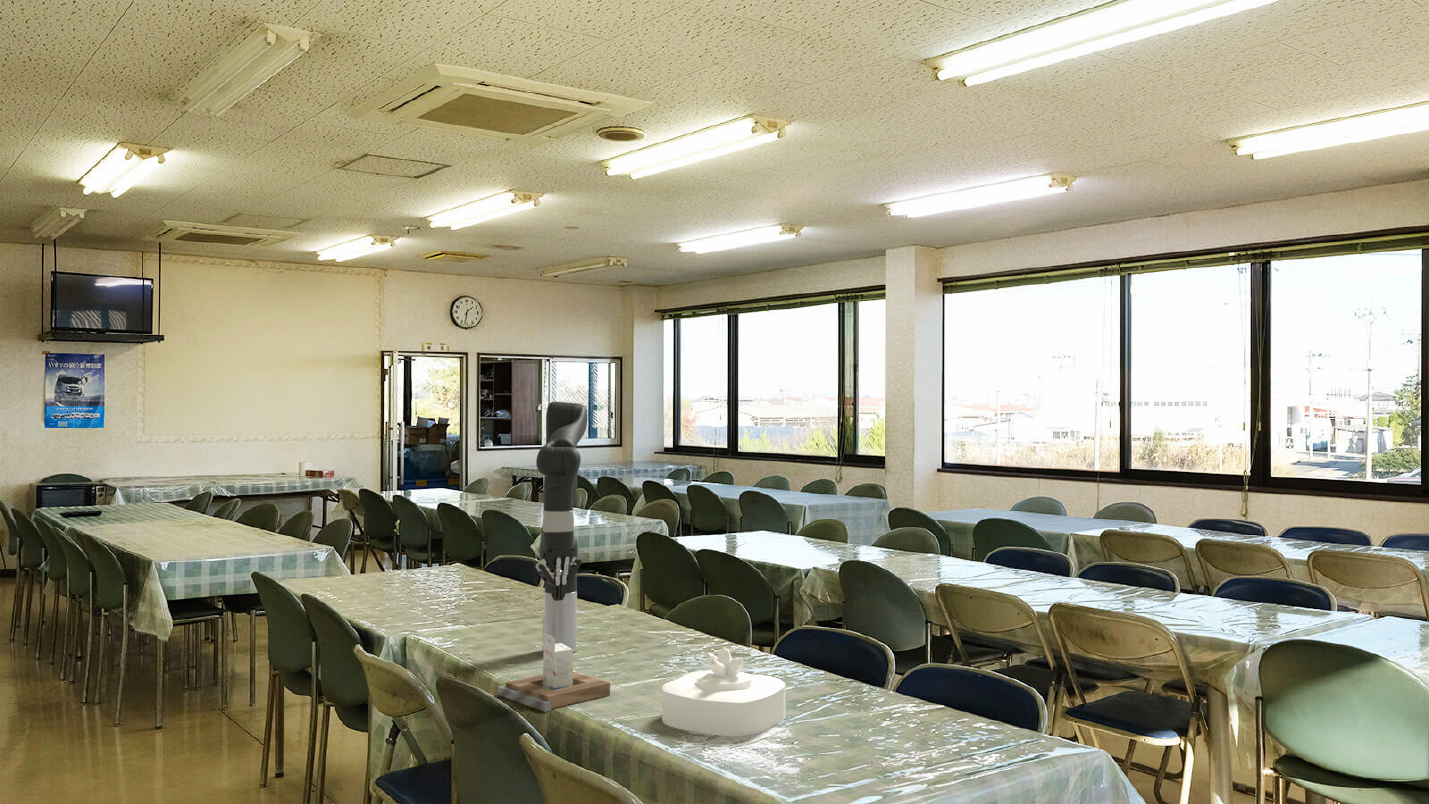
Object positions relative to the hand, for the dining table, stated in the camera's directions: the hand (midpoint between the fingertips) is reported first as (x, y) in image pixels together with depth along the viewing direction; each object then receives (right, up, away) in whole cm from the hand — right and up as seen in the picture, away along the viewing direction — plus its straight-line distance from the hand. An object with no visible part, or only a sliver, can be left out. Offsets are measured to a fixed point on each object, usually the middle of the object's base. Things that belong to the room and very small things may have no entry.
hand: (558, 600), depth 254 cm
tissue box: (+40, -23, -19) cm, 50 cm away
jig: (0, -23, 0) cm, 23 cm away
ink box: (0, -23, 0) cm, 23 cm away
